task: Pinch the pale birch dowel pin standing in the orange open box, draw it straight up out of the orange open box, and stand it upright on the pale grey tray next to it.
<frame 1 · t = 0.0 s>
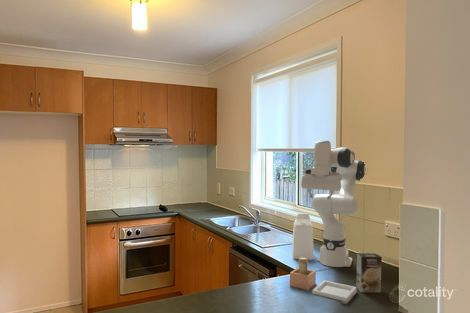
hand: (320, 198, 185), 39 cm above the worktop, tool pointing down, fingers open, 8 cm apart
tray: (334, 294, 160), on the worktop
orange open box: (302, 286, 168), on the worktop
milk: (302, 256, 219), on the worktop
pin: (302, 284, 168), point 1 cm above the worktop, touching orange open box
coffee box: (368, 290, 166), on the worktop
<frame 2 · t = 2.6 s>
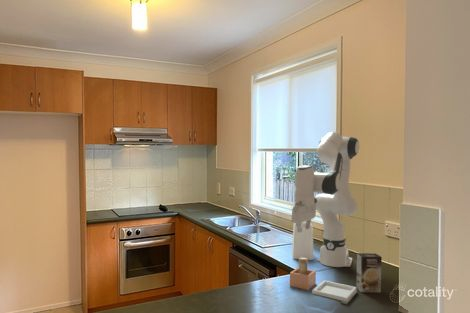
hand: (303, 230, 168), 26 cm above the worktop, tool pointing down, fingers open, 8 cm apart
nothing on the worktop moved.
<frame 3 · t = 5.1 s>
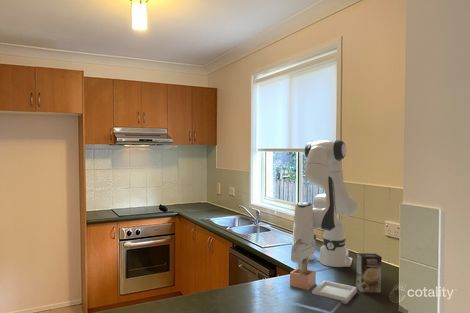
hand: (303, 267, 168), 9 cm above the worktop, tool pointing down, fingers closed on pin, 4 cm apart
pin: (302, 284, 168), point 1 cm above the worktop, touching orange open box, gripper
everything else where it was.
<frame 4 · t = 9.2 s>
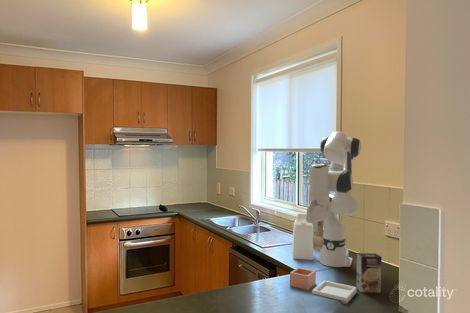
hand: (318, 230, 164), 27 cm above the worktop, tool pointing down, fingers closed on pin, 4 cm apart
pin: (317, 248, 164), point 19 cm above the worktop, touching gripper
everything else where it was.
when the fingers open (11 cm above the worktop, at t = 13.6 s): pin drops 1 cm, resting on tray.
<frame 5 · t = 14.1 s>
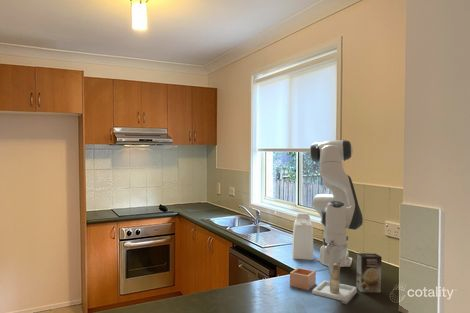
hand: (335, 270, 160), 11 cm above the worktop, tool pointing down, fingers open, 8 cm apart
pin: (334, 291, 160), point 1 cm above the worktop, touching tray
everything else where it was.
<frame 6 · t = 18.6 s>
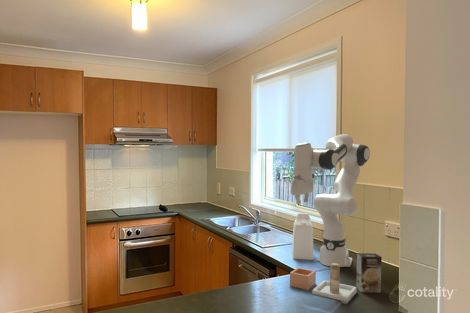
hand: (302, 203, 181), 37 cm above the worktop, tool pointing down, fingers open, 8 cm apart
nothing on the worktop moved.
at the end: pin inside the target area on the tray (0.1 cm from its centre), point 1.0 cm above the tray's base; pin tilted 0°; the gripper is holding nothing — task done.
